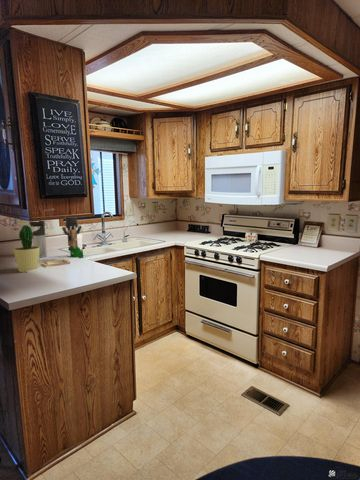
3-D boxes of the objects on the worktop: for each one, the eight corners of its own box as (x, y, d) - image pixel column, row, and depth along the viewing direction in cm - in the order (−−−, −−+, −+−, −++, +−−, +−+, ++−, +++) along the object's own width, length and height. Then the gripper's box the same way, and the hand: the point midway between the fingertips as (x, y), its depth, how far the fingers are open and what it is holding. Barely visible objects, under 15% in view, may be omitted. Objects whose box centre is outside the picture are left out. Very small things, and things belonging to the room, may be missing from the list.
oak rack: (41, 266, 216) (40, 262, 216) (64, 262, 226) (64, 259, 226) (46, 269, 208) (45, 265, 207) (70, 265, 218) (70, 261, 217)
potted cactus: (16, 268, 209) (12, 223, 205) (42, 266, 215) (38, 222, 210) (13, 274, 195) (9, 225, 191) (40, 271, 200) (37, 224, 196)
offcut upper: (45, 264, 215) (45, 261, 215) (60, 262, 223) (60, 259, 223) (47, 265, 213) (47, 262, 213) (63, 262, 221) (62, 260, 221)
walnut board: (73, 247, 220) (72, 230, 218) (68, 245, 228) (67, 229, 226) (77, 246, 222) (76, 229, 220) (72, 245, 230) (71, 228, 228)
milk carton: (68, 258, 243) (66, 232, 241) (78, 256, 250) (77, 231, 247) (74, 259, 238) (73, 233, 235) (85, 257, 245) (83, 231, 242)
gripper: (63, 217, 214) (64, 242, 217) (82, 215, 223) (84, 240, 226) (59, 216, 220) (60, 241, 223) (78, 215, 229) (80, 239, 231)
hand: (72, 240), depth 224 cm, fingers closed on walnut board, 3 cm apart
